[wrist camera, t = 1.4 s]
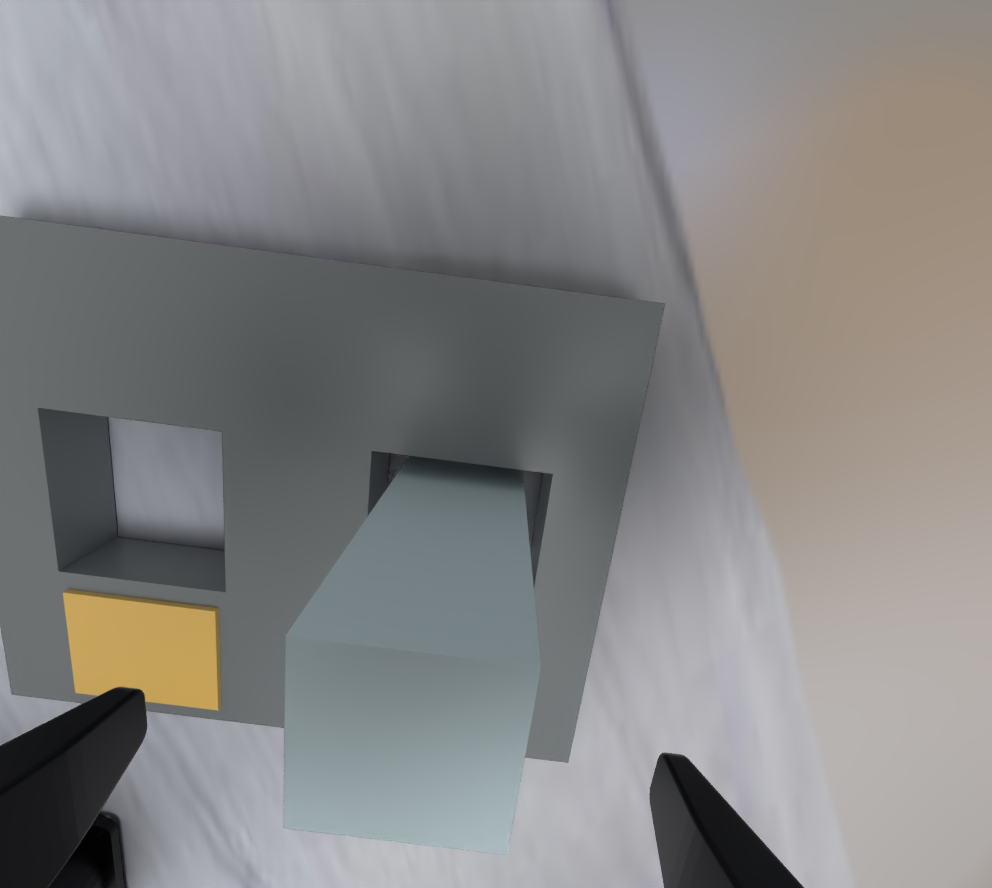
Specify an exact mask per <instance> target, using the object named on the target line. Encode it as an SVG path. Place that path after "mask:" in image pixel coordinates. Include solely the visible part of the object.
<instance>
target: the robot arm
mask: <svg viewBox="0 0 992 888" xmlns="http://www.w3.org/2000/svg"><path fill="white" fill-rule="evenodd" d="M146 731H147V717H146V704H145V694H144V692H143V691H142V690H140V689H136V688H128V687H116V688H113V689H111V690H109V691H107V692H105V693H103V694H101V695H99V696H97V697H95V698H93V699H91V700H89V701H87V702H85V703H83V704H81V705H79V706H77V707H75V708H73V709H71V710H70V711H68V712H66V713H64V714H62V715H60V716H58V717H56V718H54V719H52V720H50V721H48V722H46V723H44V724H42V725H40V726H38V727H36V728H34V729H32V730H30V731H28V732H26V733H24V734H22V735H20V736H18V737H16V738H14V739H13V740H11V741H9V742H7V743H5V744H3V745H1V746H0V888H124V880H123V870H122V861H121V851H120V842H119V833H118V826H117V823H116V822H115V821H114V820H112V819H111V818H107V817H101V816H97V815H98V814H99V812H100V811H101V809H102V807H103V806H104V804H105V802H106V801H107V799H108V798H109V796H110V794H111V793H112V791H113V789H114V788H115V786H116V785H117V783H118V781H119V780H120V778H121V776H122V775H123V773H124V772H125V770H126V768H127V767H128V765H129V763H130V762H131V760H132V759H133V757H134V755H135V754H136V752H137V750H138V749H139V747H140V746H141V744H142V742H143V740H144V738H145V735H146ZM650 806H651V812H652V818H653V824H654V830H655V836H656V842H657V847H658V853H659V859H660V865H661V871H662V877H663V883H664V888H804V887H803V886H802V885H801V884H800V883H799V882H798V880H797V879H796V878H795V877H794V876H793V875H792V874H791V873H790V872H789V870H788V869H787V868H786V867H785V866H784V865H783V864H782V863H781V861H780V860H779V859H778V858H777V857H776V856H775V855H774V854H773V853H772V851H771V850H770V849H769V848H768V847H767V846H766V845H765V844H764V843H763V841H762V840H761V839H760V838H759V837H758V836H757V835H756V834H755V833H754V831H753V830H752V829H751V828H750V827H749V826H748V825H747V824H746V822H745V821H744V820H743V819H742V818H741V817H740V816H739V815H738V814H737V812H736V811H735V810H734V809H733V808H732V807H731V806H730V805H729V804H728V802H727V801H726V800H725V799H724V798H723V797H722V796H721V795H720V794H719V792H718V791H717V790H716V789H715V788H714V787H713V786H712V785H711V783H710V782H709V781H708V780H707V779H706V778H705V777H704V776H703V775H702V773H701V772H700V771H699V770H698V769H697V768H696V767H695V766H694V765H693V763H692V762H691V761H690V760H689V759H688V758H687V757H685V756H684V755H680V754H672V753H662V754H661V755H660V756H659V758H658V761H657V765H656V768H655V772H654V776H653V779H652V783H651V787H650Z"/></svg>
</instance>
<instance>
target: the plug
mask: <svg viewBox="0 0 992 888" xmlns="http://www.w3.org/2000/svg"><path fill="white" fill-rule="evenodd" d="M540 671H541V661H540V650H539V640H538V629H537V618H536V607H535V597H534V586H533V575H532V564H531V554H530V543H529V532H528V521H527V511H526V500H525V489H524V478H523V470H518V469H510V468H503V467H495V466H487V465H479V464H471V463H464V462H456V461H448V460H440V459H433V458H425V457H417V456H409V457H408V459H407V460H406V462H405V463H404V464H403V466H402V467H401V469H400V470H399V472H398V473H397V475H396V476H395V477H394V479H393V480H392V482H391V483H390V485H389V486H388V488H387V489H386V491H385V492H384V493H383V495H382V496H381V498H380V499H379V501H378V502H377V504H376V505H375V507H374V508H373V509H372V511H371V512H370V514H369V515H368V517H367V518H366V520H365V521H364V523H363V524H362V525H361V527H360V528H359V530H358V531H357V533H356V534H355V536H354V537H353V539H352V540H351V541H350V543H349V544H348V546H347V547H346V549H345V550H344V552H343V553H342V555H341V556H340V557H339V559H338V560H337V562H336V563H335V565H334V566H333V568H332V569H331V571H330V572H329V573H328V575H327V576H326V578H325V579H324V581H323V582H322V584H321V585H320V587H319V588H318V589H317V591H316V592H315V594H314V595H313V597H312V598H311V600H310V601H309V602H308V604H307V605H306V607H305V608H304V610H303V611H302V613H301V614H300V616H299V617H298V618H297V620H296V621H295V623H294V624H293V626H292V627H291V629H290V630H289V632H288V633H287V634H286V651H285V726H284V800H283V828H286V829H294V830H302V831H311V832H319V833H327V834H335V835H344V836H352V837H360V838H369V839H377V840H385V841H394V842H402V843H410V844H419V845H427V846H435V847H443V848H452V849H460V850H468V851H477V852H485V853H493V854H502V855H507V854H508V848H509V843H510V837H511V831H512V826H513V820H514V815H515V809H516V804H517V798H518V793H519V787H520V782H521V776H522V770H523V765H524V759H525V754H526V748H527V743H528V737H529V732H530V726H531V721H532V715H533V709H534V704H535V698H536V693H537V687H538V682H539V676H540Z"/></svg>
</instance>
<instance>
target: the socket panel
mask: <svg viewBox="0 0 992 888" xmlns="http://www.w3.org/2000/svg"><path fill="white" fill-rule="evenodd" d="M664 306H665V304H664V303H656V302H649V301H641V300H634V299H626V298H618V297H611V296H603V295H596V294H588V293H581V292H573V291H566V290H558V289H550V288H543V287H535V286H528V285H520V284H513V283H505V282H498V281H490V280H482V279H475V278H467V277H460V276H452V275H445V274H437V273H430V272H422V271H414V270H407V269H399V268H392V267H384V266H377V265H369V264H362V263H354V262H346V261H339V260H331V259H324V258H316V257H309V256H301V255H294V254H286V253H279V252H271V251H263V250H256V249H248V248H241V247H233V246H226V245H218V244H211V243H203V242H195V241H188V240H180V239H173V238H165V237H158V236H150V235H143V234H135V233H127V232H120V231H112V230H105V229H97V228H90V227H82V226H75V225H67V224H59V223H52V222H44V221H37V220H29V219H22V218H14V217H7V216H0V627H1V633H2V639H3V645H4V651H5V657H6V663H7V669H8V675H9V681H10V687H11V693H12V695H20V696H28V697H37V698H45V699H53V700H61V701H69V702H77V703H85V702H87V701H89V700H91V699H93V698H95V697H97V696H99V695H101V694H103V693H105V692H107V691H109V690H111V689H113V688H116V687H128V688H136V689H140V690H142V691H143V692H144V694H145V704H146V711H151V712H159V713H167V714H175V715H183V716H192V717H200V718H208V719H216V720H224V721H232V722H240V723H249V724H257V725H265V726H273V727H281V728H284V726H285V651H286V634H287V633H288V632H289V630H290V629H291V627H292V626H293V624H294V623H295V621H296V620H297V618H298V617H299V616H300V614H301V613H302V611H303V610H304V608H305V607H306V605H307V604H308V602H309V601H310V600H311V598H312V597H313V595H314V594H315V592H316V591H317V589H318V588H319V587H320V585H321V584H322V582H323V581H324V579H325V578H326V576H327V575H328V573H329V572H330V571H331V569H332V568H333V566H334V565H335V563H336V562H337V560H338V559H339V557H340V556H341V555H342V553H343V552H344V550H345V549H346V547H347V546H348V544H349V543H350V541H351V540H352V539H353V537H354V536H355V534H356V533H357V531H358V530H359V528H360V527H361V525H362V524H363V523H364V521H365V520H366V518H367V517H368V515H369V514H370V512H371V511H372V509H373V508H374V507H375V505H376V504H377V502H378V501H379V499H380V498H381V496H382V495H383V493H384V492H385V491H386V489H387V480H388V466H389V453H394V454H401V455H409V456H417V457H425V458H433V459H440V460H448V461H456V462H464V463H471V464H479V465H487V466H495V467H503V468H510V469H518V470H526V471H534V472H541V473H543V478H542V484H541V490H540V496H539V502H538V509H537V515H536V521H535V527H534V533H533V540H532V546H531V552H530V554H531V564H532V575H533V586H534V597H535V607H536V618H537V629H538V640H539V650H540V661H541V671H540V676H539V682H538V687H537V693H536V698H535V704H534V709H533V715H532V721H531V726H530V732H529V737H528V743H527V748H526V754H525V757H526V758H534V759H542V760H550V761H558V762H567V763H568V761H569V756H570V752H571V747H572V742H573V737H574V733H575V728H576V723H577V718H578V714H579V709H580V704H581V699H582V695H583V690H584V685H585V681H586V676H587V671H588V666H589V662H590V657H591V652H592V647H593V643H594V638H595V633H596V628H597V624H598V619H599V614H600V609H601V605H602V600H603V595H604V591H605V586H606V581H607V576H608V572H609V567H610V562H611V557H612V553H613V548H614V543H615V538H616V534H617V529H618V524H619V519H620V515H621V510H622V505H623V501H624V496H625V491H626V486H627V482H628V477H629V472H630V467H631V463H632V458H633V453H634V448H635V444H636V439H637V434H638V429H639V425H640V420H641V415H642V411H643V406H644V401H645V396H646V392H647V387H648V382H649V377H650V373H651V368H652V363H653V358H654V354H655V349H656V344H657V339H658V335H659V330H660V325H661V321H662V316H663V311H664ZM107 417H114V418H121V419H129V420H137V421H145V422H152V423H160V424H168V425H176V426H184V427H191V428H199V429H207V430H215V431H222V457H223V498H224V540H225V551H222V550H214V549H206V548H198V547H191V546H183V545H175V544H167V543H159V542H151V541H143V540H135V539H127V538H119V537H118V534H117V522H116V511H115V499H114V488H113V477H112V465H111V454H110V443H109V431H108V420H107Z"/></svg>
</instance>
